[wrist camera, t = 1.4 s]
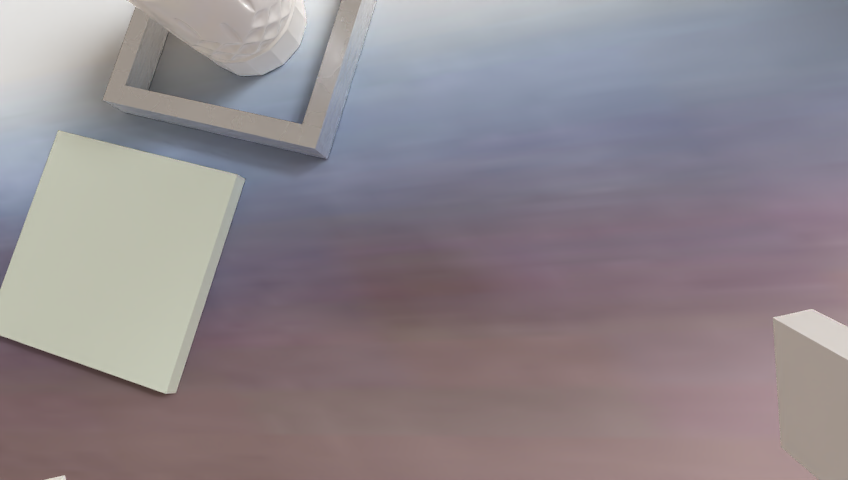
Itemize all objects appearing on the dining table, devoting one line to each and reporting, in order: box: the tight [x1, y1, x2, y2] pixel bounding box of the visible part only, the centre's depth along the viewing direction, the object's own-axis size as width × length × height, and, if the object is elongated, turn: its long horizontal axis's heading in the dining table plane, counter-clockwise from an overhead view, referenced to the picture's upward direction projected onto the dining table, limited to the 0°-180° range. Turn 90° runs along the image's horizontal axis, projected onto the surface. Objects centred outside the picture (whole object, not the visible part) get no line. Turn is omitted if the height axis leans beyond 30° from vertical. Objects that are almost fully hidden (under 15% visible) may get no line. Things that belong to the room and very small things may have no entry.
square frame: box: [103, 0, 377, 159], centre depth 40 cm, size 14×14×2 cm
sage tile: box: [0, 130, 245, 394], centre depth 39 cm, size 13×13×1 cm
